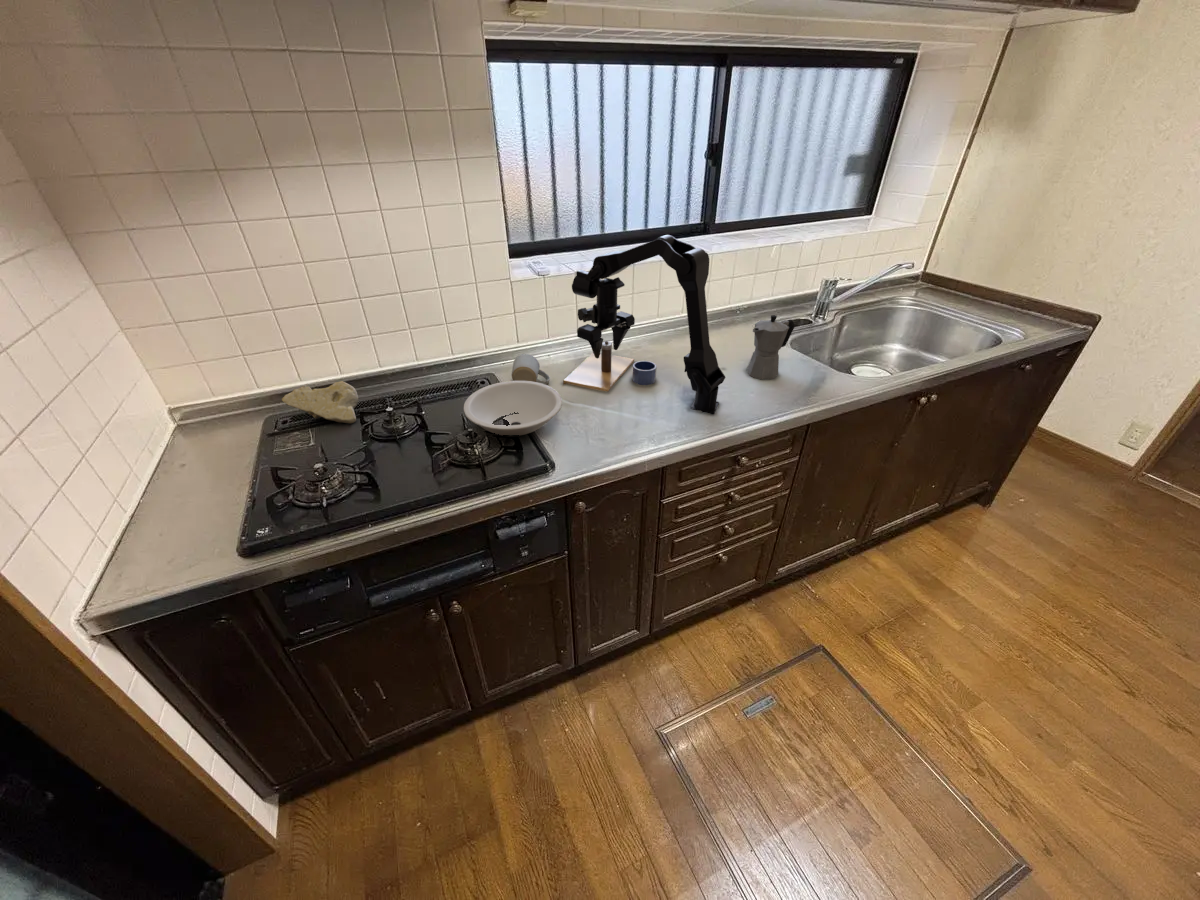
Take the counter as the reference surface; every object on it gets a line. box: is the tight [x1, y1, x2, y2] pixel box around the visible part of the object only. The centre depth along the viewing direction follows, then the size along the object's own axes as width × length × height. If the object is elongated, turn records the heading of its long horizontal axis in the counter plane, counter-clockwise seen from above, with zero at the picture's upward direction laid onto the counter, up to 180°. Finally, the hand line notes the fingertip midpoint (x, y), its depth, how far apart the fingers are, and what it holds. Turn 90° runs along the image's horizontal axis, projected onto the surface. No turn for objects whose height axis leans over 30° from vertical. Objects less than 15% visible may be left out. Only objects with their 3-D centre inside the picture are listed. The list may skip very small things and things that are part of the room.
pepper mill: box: [600, 340, 613, 373], centre depth 147 cm, size 3×3×9 cm
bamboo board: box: [562, 352, 635, 393], centre depth 151 cm, size 22×14×1 cm, turn 157°
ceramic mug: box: [511, 353, 551, 386], centre depth 143 cm, size 11×8×8 cm
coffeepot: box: [746, 314, 796, 381], centre depth 147 cm, size 15×9×18 cm, turn 116°
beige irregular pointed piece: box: [281, 380, 359, 424], centre depth 128 cm, size 15×7×15 cm
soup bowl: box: [463, 380, 563, 436], centre depth 125 cm, size 24×24×7 cm
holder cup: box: [631, 360, 658, 386], centre depth 145 cm, size 7×7×5 cm
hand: (606, 353), depth 147 cm, fingers open, 8 cm apart
